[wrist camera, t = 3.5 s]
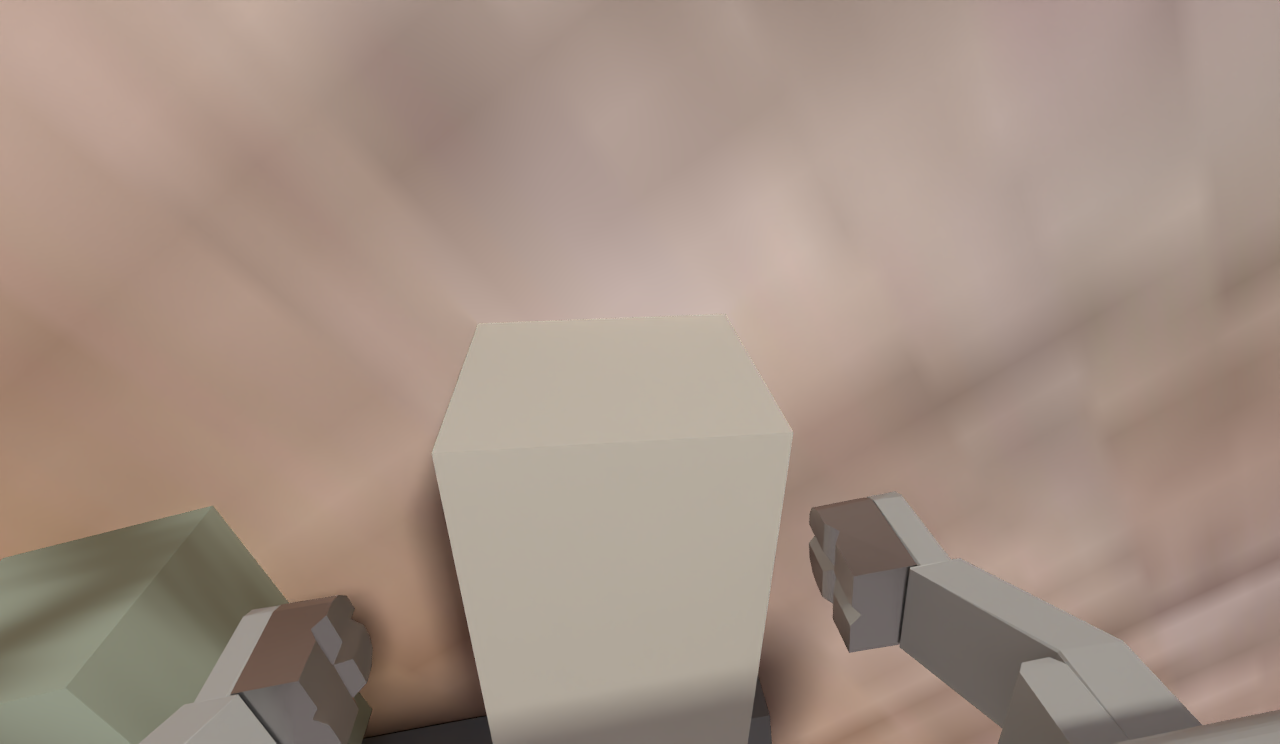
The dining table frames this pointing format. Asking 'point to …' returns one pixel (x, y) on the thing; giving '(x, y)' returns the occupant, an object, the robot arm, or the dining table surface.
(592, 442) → the cream brick
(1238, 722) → the robot arm
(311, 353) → the dining table surface
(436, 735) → the base plate
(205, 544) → the sage brick
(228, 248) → the dining table surface
